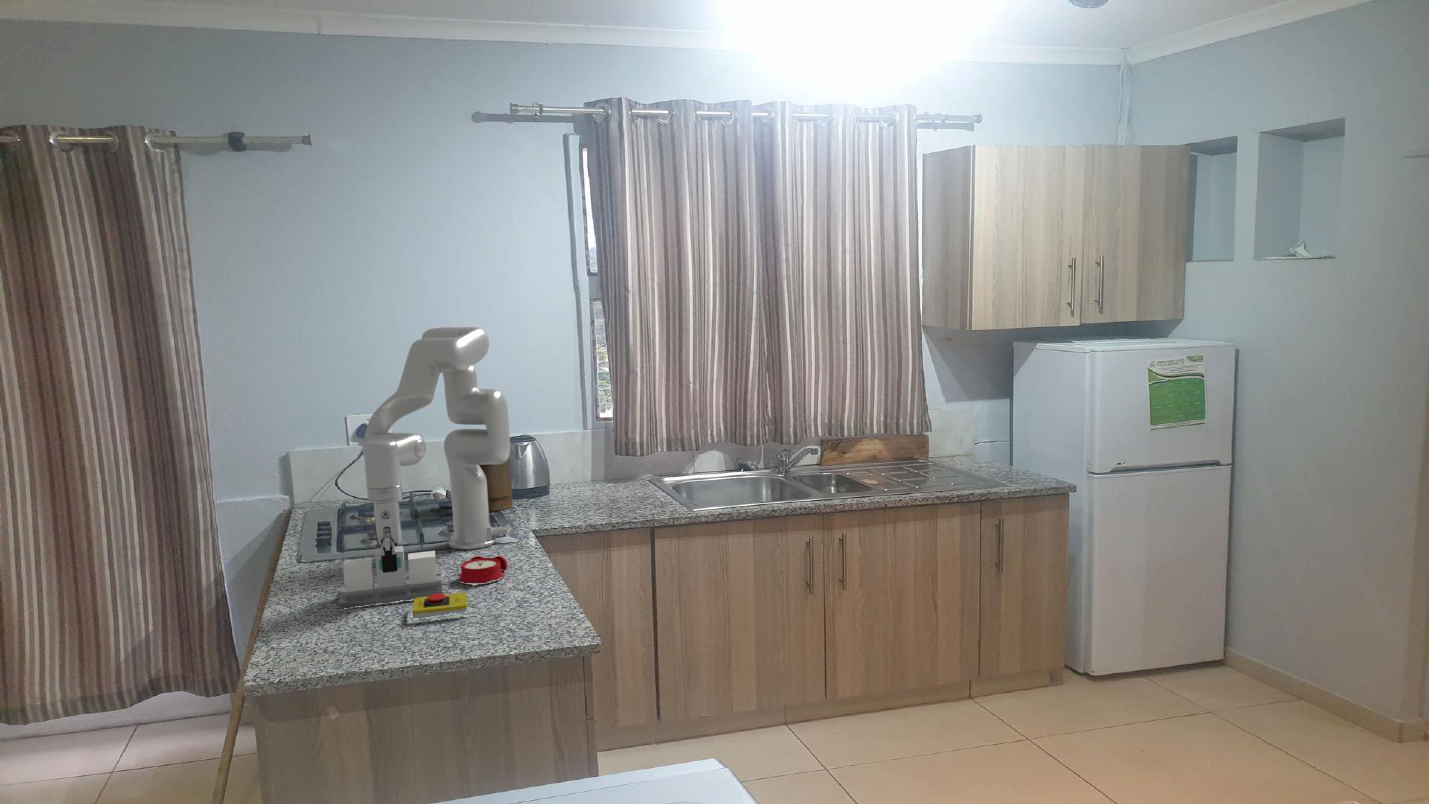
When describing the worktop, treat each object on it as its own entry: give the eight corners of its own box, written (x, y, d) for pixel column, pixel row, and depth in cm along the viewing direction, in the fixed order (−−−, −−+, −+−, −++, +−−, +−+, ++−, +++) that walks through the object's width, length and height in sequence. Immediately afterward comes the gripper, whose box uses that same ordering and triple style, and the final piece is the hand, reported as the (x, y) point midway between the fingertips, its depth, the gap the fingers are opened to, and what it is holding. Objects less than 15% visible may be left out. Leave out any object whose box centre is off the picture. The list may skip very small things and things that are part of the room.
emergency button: (406, 592, 213) (476, 585, 216) (408, 612, 213) (477, 604, 217) (404, 607, 204) (477, 599, 207) (405, 626, 204) (478, 618, 208)
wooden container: (497, 499, 315) (492, 432, 312) (521, 506, 304) (517, 437, 301) (455, 507, 305) (450, 439, 302) (479, 515, 294) (474, 444, 291)
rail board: (441, 579, 234) (440, 569, 233) (442, 597, 220) (442, 586, 220) (344, 590, 227) (343, 580, 227) (340, 610, 214) (339, 599, 214)
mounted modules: (436, 575, 229) (434, 550, 228) (437, 581, 224) (435, 556, 223) (346, 585, 223) (344, 560, 222) (345, 592, 218) (343, 566, 217)
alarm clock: (449, 573, 227) (470, 541, 241) (453, 596, 229) (474, 563, 243) (493, 573, 226) (511, 541, 240) (496, 596, 228) (514, 563, 242)
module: (405, 578, 227) (403, 545, 226) (405, 585, 222) (402, 551, 221) (378, 581, 225) (376, 548, 224) (377, 588, 220) (375, 554, 219)
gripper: (401, 500, 213) (407, 574, 216) (402, 483, 230) (407, 553, 232) (365, 503, 211) (371, 578, 214) (369, 486, 228) (375, 557, 230)
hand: (390, 565), depth 223 cm, fingers open, 9 cm apart
